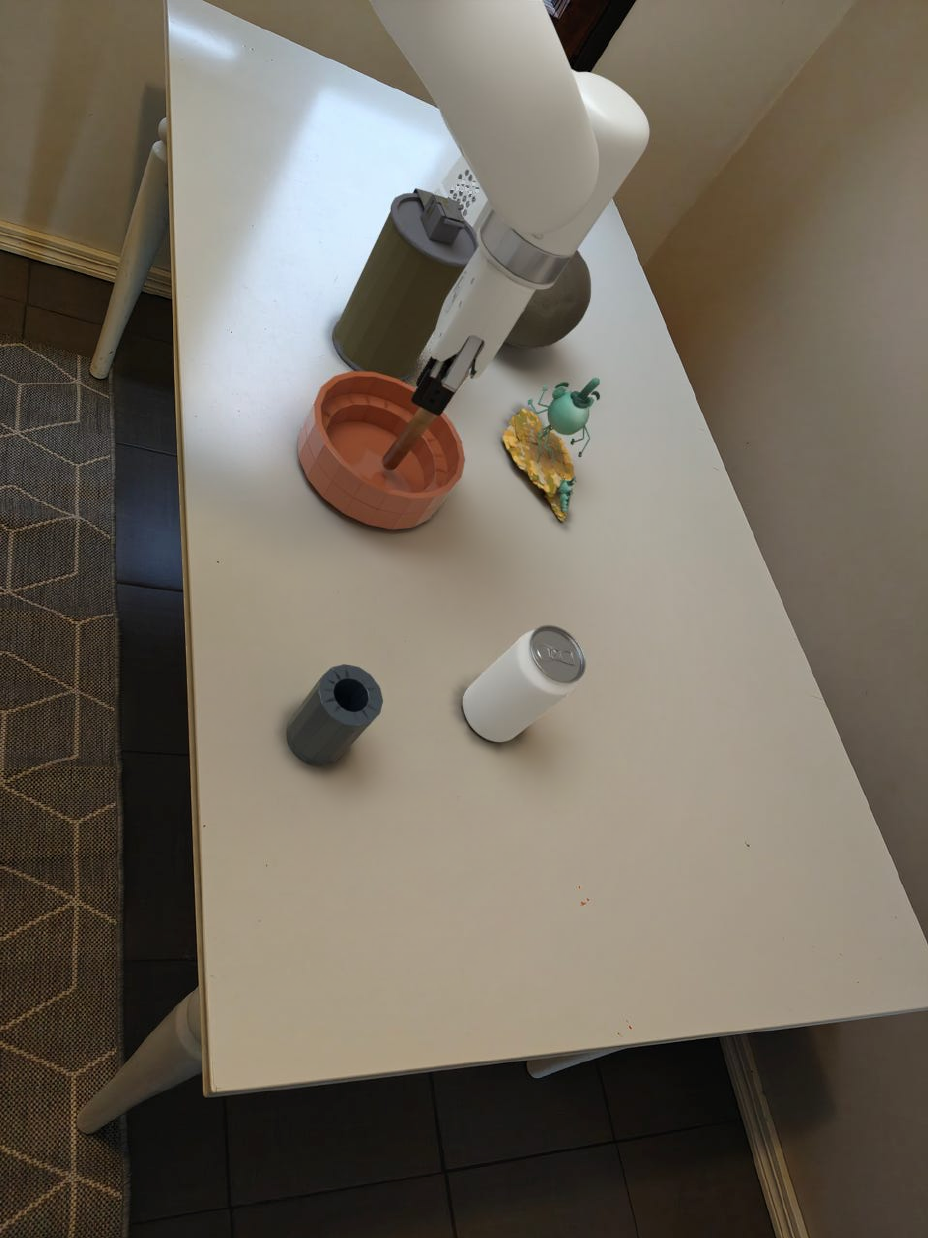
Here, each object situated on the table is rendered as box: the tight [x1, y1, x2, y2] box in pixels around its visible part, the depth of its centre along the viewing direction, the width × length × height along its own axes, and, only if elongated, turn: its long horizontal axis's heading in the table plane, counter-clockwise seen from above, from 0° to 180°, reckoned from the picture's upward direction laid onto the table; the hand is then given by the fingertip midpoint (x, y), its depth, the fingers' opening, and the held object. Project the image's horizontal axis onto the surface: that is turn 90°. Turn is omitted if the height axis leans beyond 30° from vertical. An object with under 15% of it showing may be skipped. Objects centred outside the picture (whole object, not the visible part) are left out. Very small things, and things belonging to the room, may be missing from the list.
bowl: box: [297, 370, 466, 530], centre depth 88 cm, size 16×16×6 cm
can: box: [462, 624, 587, 743], centre depth 77 cm, size 6×6×12 cm
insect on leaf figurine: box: [501, 377, 601, 522], centre depth 100 cm, size 10×18×15 cm, turn 5°
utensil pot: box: [286, 663, 384, 766], centre depth 68 cm, size 5×5×8 cm
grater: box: [433, 153, 491, 234], centre depth 121 cm, size 10×10×20 cm
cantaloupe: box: [503, 249, 592, 349], centre depth 110 cm, size 14×14×15 cm
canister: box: [331, 187, 479, 382], centre depth 94 cm, size 11×10×20 cm
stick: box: [382, 366, 470, 470], centre depth 84 cm, size 2×2×16 cm
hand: (428, 398), depth 82 cm, fingers closed on stick, 1 cm apart
